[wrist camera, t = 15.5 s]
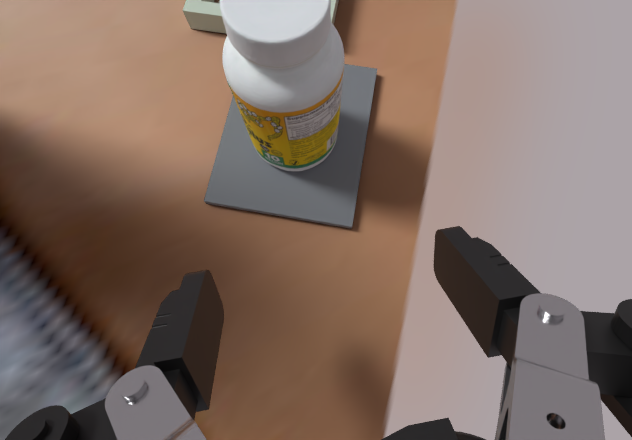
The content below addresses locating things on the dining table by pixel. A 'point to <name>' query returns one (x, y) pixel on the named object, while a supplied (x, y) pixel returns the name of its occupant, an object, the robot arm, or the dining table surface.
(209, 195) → the mat
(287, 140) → the supplement bottle
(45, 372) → the dining table surface
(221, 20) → the pale green square frame
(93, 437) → the robot arm
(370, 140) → the dining table surface
